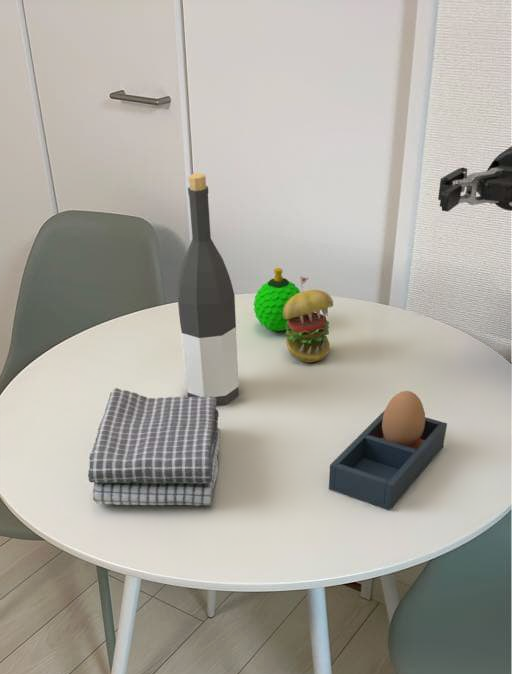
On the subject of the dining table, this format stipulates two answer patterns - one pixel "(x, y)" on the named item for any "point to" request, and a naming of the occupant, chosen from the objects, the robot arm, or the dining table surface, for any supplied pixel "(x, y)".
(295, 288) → the ornament
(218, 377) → the wine bottle
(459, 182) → the robot arm
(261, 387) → the dining table surface
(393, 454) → the divided tray
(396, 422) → the egg
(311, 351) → the hamburger
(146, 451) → the towel
